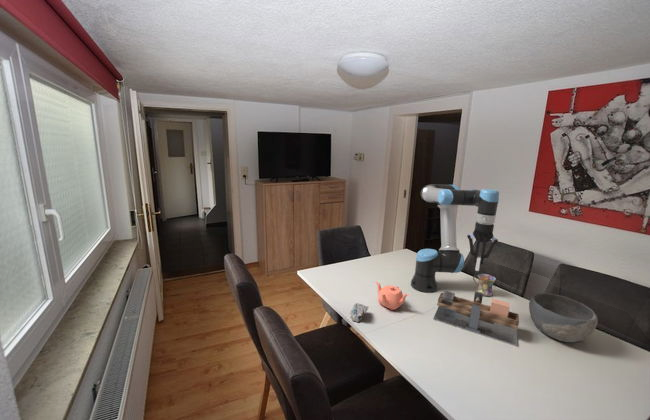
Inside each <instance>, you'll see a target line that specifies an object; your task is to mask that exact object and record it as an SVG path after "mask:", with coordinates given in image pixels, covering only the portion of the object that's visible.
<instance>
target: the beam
mask: <svg viewBox="0 0 650 420" xmlns="http://www.w3.org/2000/svg"><path fill="white" fill-rule="evenodd" d="M472 304H475V305H479V306H481V310H480V316H479V320H481V321H484V322H487V323H491V324H494V323H497V324H500V325H503V326H507V327H510V328H513V329H517V331H518V330H519V323H520V318H519V317H520V316H519V313H516V312H513V311H509V312H508V317H504V316H500V315H497V314H493V313H490V307H491V305H489V304H488V305H487V304H484V303H482V304H481V303H480V298H479V297H477V298H476V299H475V302H474V300H470V299H466V298H462V297H459V296H456V293H455V292H451V291H448V290H444V291H443V292H440V294H439V296H438V299H437V304H436V306H438V307H439V306H441V307H444V308H448V309H451V310H454V311H457V313H458V314H461V315H465V316H468V317H470V315H471V309H472Z"/></svg>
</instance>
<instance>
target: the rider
mask: <svg viewBox="0 0 650 420" xmlns="http://www.w3.org/2000/svg"><path fill="white" fill-rule="evenodd" d="M490 303H491V304H490V306H491V307H490V313H493V314H497V315H500V316H504V317H508V312H510V308H511V307H510V302H508V301H504V300H499V299H496V298H491V301H490Z"/></svg>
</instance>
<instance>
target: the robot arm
mask: <svg viewBox="0 0 650 420" xmlns="http://www.w3.org/2000/svg"><path fill="white" fill-rule="evenodd" d="M420 196H421V199H422V200H424V201H425V202H426V203H434V204H437V207H438V208H439V210H440V215H439V216H440V243H441V245H440V248H439V249H438V251H437V250H436V249H433V248H423V249H420V250H419V251H417V253H416V257H415V260H416V261H415V270H414V275H413V276H412V278H411V281H410V287H411V288H413V289H414V290H416V291H417V292H418V291H419V292H422V293H430V294H431V293H434V292H436V291H437V289H438V285H437V280H436V273H451V274H457V273H460V272H461V271H462V270H463V268H464V266H465V265H464V264H465V257H464V255H463V253H461V252H460V249H459V248H458V246H457V245H458V244H457V222H456V221H457V218H456V208H457V207H458V206H472V207H473V206H475V207H477V212H476V218H475V220H476V222H475V224H474V231H472V233H468V234H467V236H466V237H467V239H468V241H469V250H470V255H471V256H473V257H474V259H473V263H474V264H475V269H474V270H475V271H476V272H479V271H480V265H483V263H484V259H488V258H489V257H490V255H491V253H492V250H493V249H494V248H495V245H496V244H497V243H498V242H499V239H498V238H497V237H494V229H495V221H496V214H497V210H498V205H499V201H500V200H499V199H500V198H499V197H500V192H499V190H497V189H492V188H482V189H474V188H473V189H470V190H468V189H466V190H464V189H461V188H460V187H459V186H458V185H456V184H450V183H449V184H443V183H442V184H438V183H437V184H436V183H434V184H433V183H432V184H427V185H425V186H423V187H422V189H421V190H420ZM473 238H474V239H475V240H476V246H475V249H474V239H473ZM490 241H491V243H490V246H489V248H488V249H487V251H486V247H487V243H489V242H490ZM481 243H482V248H481V254H480V256H479V251H480V246H481ZM485 252H486V253H485Z"/></svg>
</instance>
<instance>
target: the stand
mask: <svg viewBox="0 0 650 420" xmlns="http://www.w3.org/2000/svg"><path fill="white" fill-rule="evenodd" d="M477 297H479V298H480V303H481V304H483V297H484V295H483V293H482V292H478V291H477V290H475V291H474V296H473V301H474V302H475V299H476V298H477ZM480 310H481V306H479V305H475V304H472V309H471V315H470V317H468V316H465V315H461V314H458V313H457V311H454V310H451V309H448V308H444V307H441V306H438V307H437V309H436V311H435V313H434V316H433V318H432V319H433V320H434V321H437V322H440V323H442V324H446V325H450V326H452V327H455V328H459V329H461V330H465V331H468V332H471V333H474V334H476V335H480V336H484V337H486V338H489V339H493V340H495V341H499V342H502V343H506V344H508V345H511V346H515V347H518V334H517V333H518V330H517V329H513V328H510V327H507V326H503V325H500V324H497V323H494V324H491V323H487V322H484V321H481V320H479V316H480Z"/></svg>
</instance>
